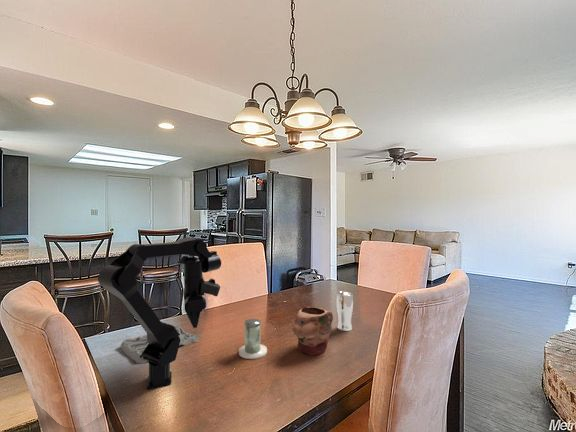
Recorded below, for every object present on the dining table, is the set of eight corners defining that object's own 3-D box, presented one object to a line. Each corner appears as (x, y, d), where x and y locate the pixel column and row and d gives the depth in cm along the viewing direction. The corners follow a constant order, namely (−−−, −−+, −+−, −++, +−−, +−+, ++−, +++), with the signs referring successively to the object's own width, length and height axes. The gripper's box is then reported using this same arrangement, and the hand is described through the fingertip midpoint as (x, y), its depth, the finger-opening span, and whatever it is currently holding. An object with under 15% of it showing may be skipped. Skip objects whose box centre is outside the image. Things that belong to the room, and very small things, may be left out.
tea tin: (260, 353, 99) (260, 324, 99) (243, 353, 99) (243, 324, 98) (261, 345, 104) (261, 318, 104) (245, 346, 104) (245, 318, 104)
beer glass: (356, 328, 123) (356, 293, 123) (347, 333, 118) (347, 296, 118) (342, 323, 128) (342, 290, 128) (333, 328, 123) (333, 293, 122)
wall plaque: (140, 367, 93) (140, 354, 93) (118, 349, 105) (118, 338, 105) (203, 342, 110) (203, 332, 110) (178, 329, 123) (178, 320, 123)
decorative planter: (317, 334, 117) (317, 300, 116) (343, 343, 108) (343, 306, 108) (284, 351, 102) (284, 312, 102) (311, 363, 94) (311, 321, 94)
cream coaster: (270, 355, 99) (270, 353, 99) (242, 361, 95) (242, 359, 95) (262, 343, 108) (262, 341, 108) (236, 348, 104) (236, 346, 104)
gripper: (222, 279, 89) (223, 329, 89) (214, 268, 106) (215, 309, 107) (184, 283, 85) (185, 335, 85) (182, 270, 102) (183, 314, 103)
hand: (194, 322), depth 95 cm, fingers open, 9 cm apart
